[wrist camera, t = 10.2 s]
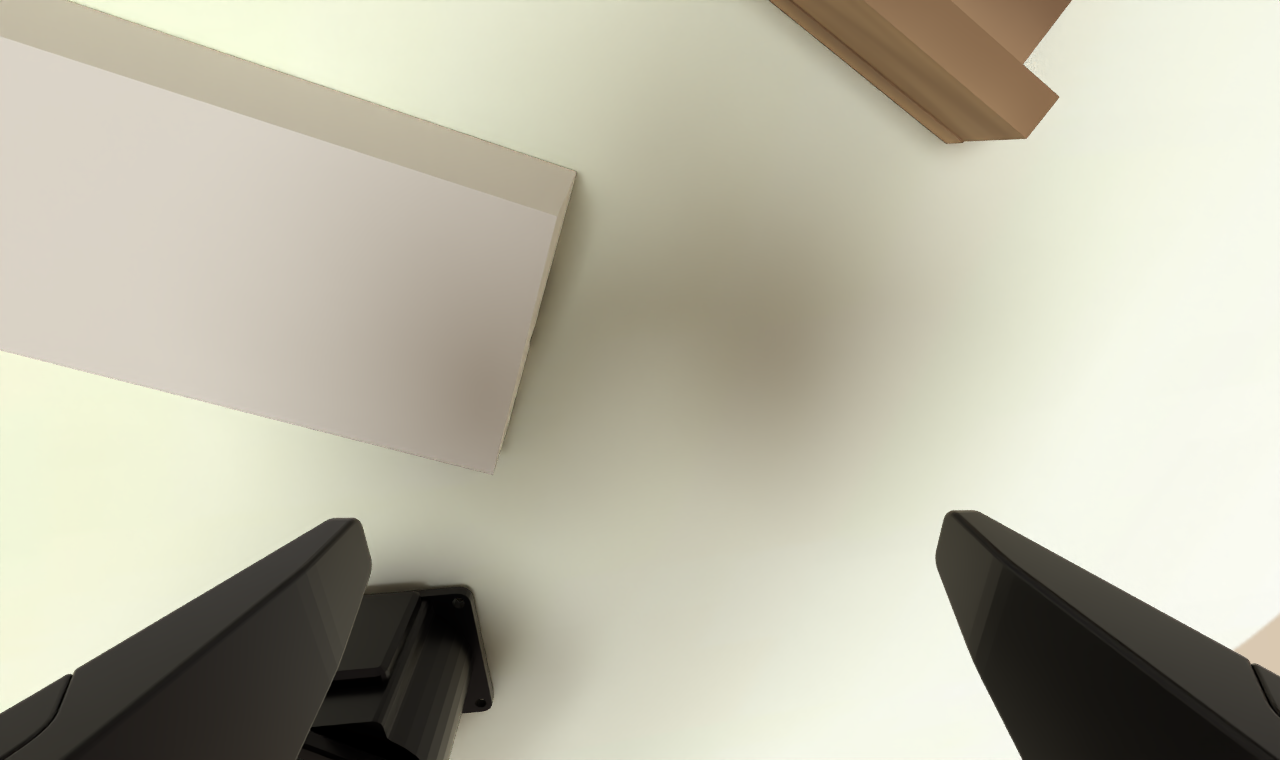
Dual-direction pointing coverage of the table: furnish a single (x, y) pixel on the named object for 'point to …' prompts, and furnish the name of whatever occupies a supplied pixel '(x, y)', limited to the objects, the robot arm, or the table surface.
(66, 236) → the light grey block
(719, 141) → the table surface
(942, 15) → the tray
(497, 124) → the table surface
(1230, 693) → the robot arm
